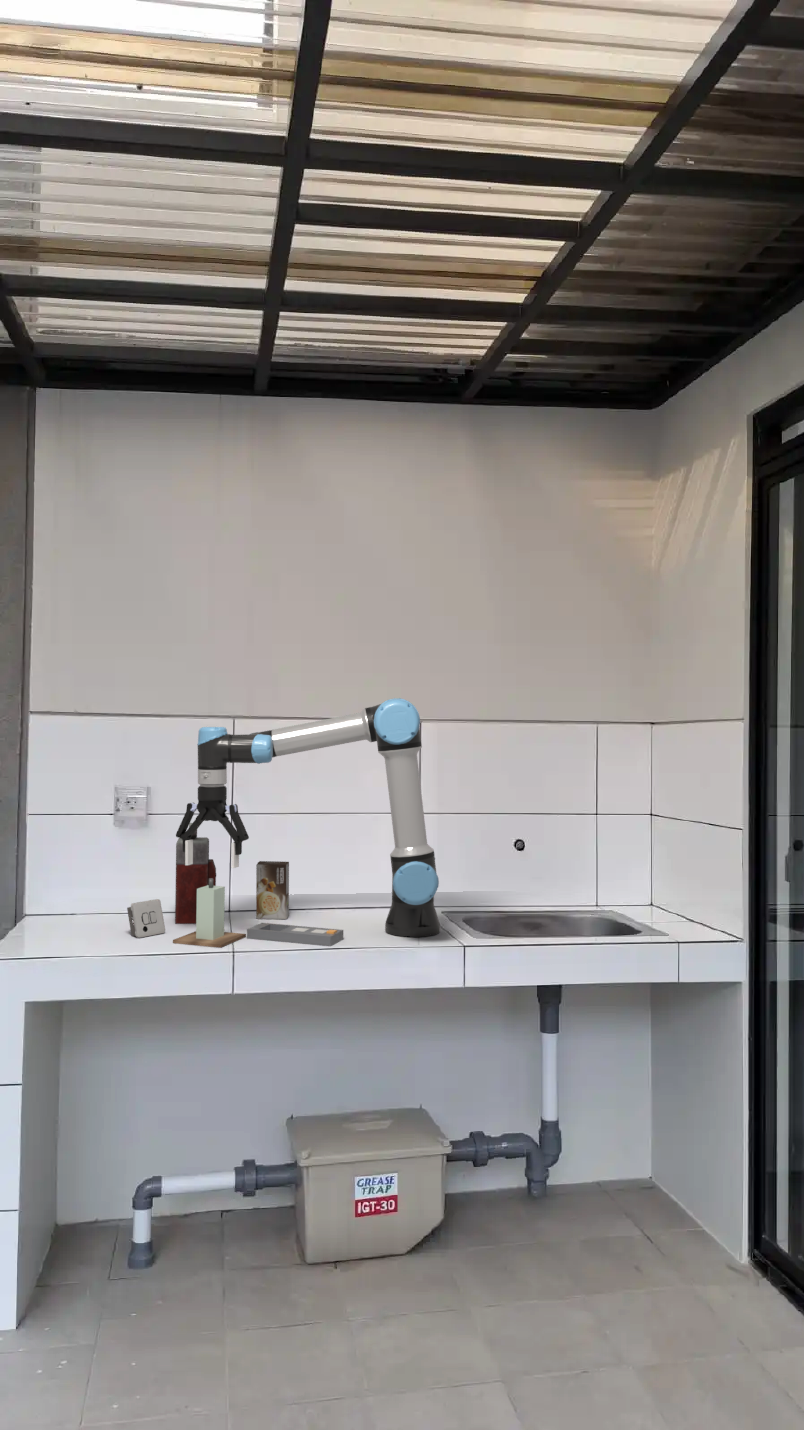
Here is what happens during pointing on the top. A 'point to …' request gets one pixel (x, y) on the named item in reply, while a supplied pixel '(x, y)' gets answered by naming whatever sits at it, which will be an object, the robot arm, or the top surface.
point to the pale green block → (210, 911)
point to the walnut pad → (218, 942)
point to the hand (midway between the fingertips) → (211, 866)
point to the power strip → (295, 934)
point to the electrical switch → (146, 918)
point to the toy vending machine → (192, 878)
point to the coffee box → (272, 890)
